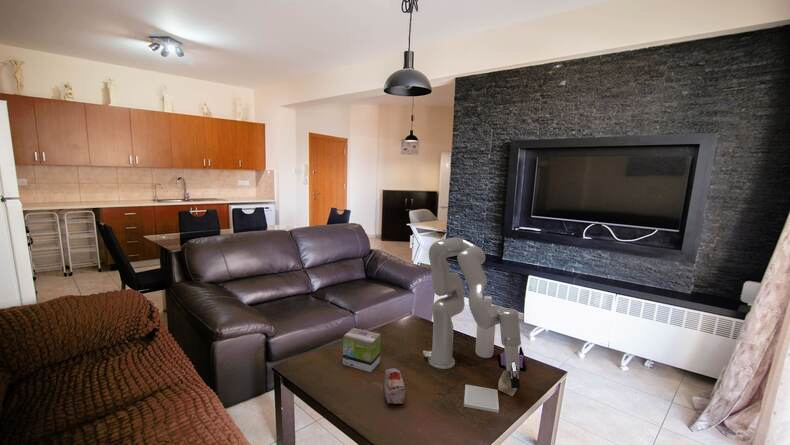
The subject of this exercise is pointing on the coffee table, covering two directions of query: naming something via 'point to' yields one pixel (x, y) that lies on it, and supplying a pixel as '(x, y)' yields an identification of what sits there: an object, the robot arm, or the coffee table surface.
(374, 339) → the tea box
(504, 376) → the maple cube
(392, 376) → the food item
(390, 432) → the coffee table surface
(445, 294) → the robot arm
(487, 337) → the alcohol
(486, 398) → the plate
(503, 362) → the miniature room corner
